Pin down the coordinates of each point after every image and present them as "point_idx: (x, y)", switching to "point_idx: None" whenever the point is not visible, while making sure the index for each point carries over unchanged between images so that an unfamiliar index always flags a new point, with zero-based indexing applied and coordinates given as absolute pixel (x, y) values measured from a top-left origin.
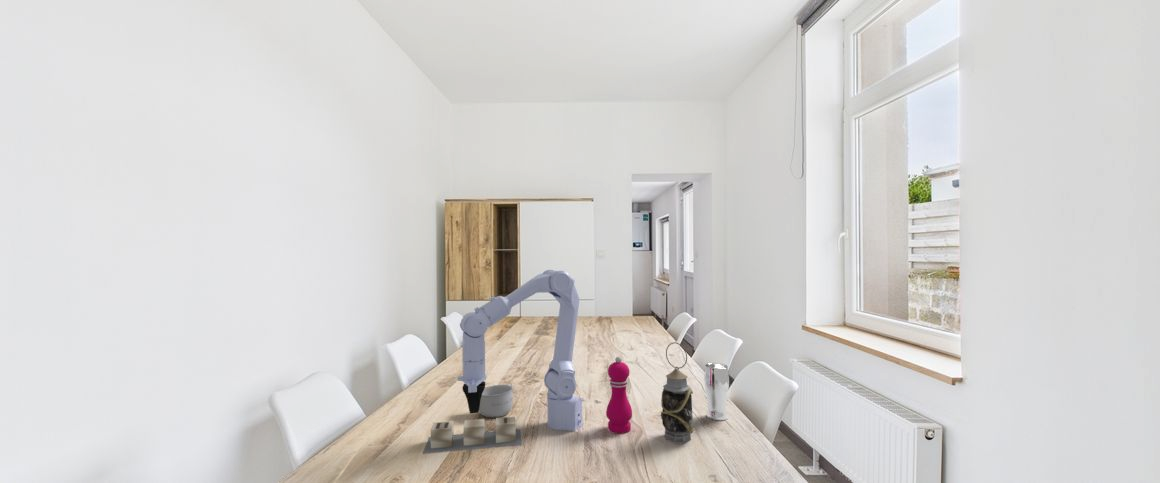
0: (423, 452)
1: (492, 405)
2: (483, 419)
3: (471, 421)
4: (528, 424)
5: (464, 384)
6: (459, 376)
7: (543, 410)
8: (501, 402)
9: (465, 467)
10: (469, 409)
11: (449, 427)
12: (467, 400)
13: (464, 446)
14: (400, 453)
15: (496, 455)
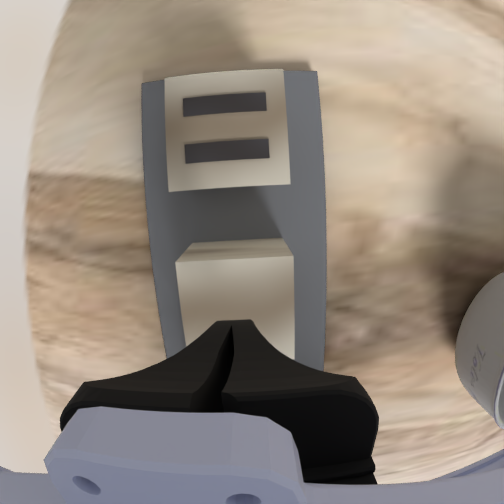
0: (149, 83)
1: (478, 351)
2: (286, 355)
3: (268, 295)
4: (377, 434)
5: (316, 406)
6: (288, 489)
7: (458, 444)
8: (476, 388)
9: (54, 266)
10: (207, 329)
11: (187, 176)
12: (171, 357)
13: (183, 247)
14: (195, 3)
15: (132, 361)
